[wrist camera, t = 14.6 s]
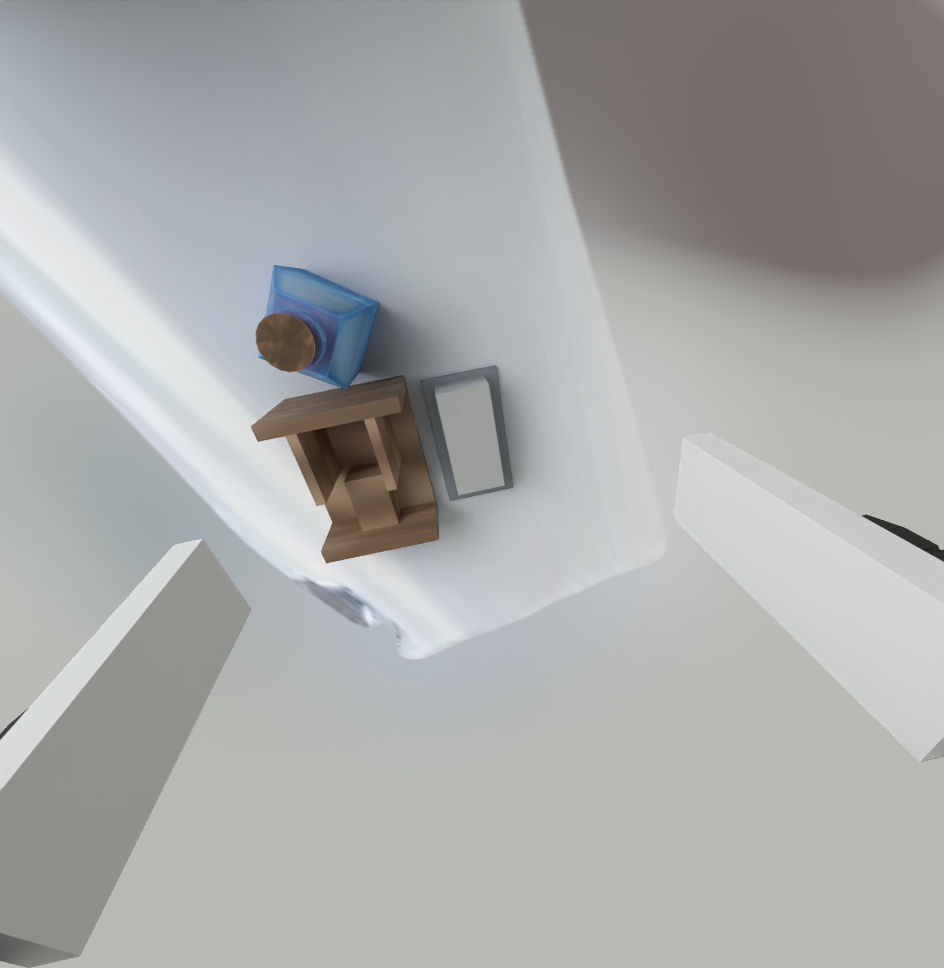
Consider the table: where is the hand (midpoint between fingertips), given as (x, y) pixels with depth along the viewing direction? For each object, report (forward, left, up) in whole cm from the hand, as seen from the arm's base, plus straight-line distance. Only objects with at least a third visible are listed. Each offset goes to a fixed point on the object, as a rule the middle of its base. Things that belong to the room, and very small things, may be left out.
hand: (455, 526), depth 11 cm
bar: (+7, +2, -26) cm, 27 cm away
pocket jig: (+9, -9, -27) cm, 29 cm away
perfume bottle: (-5, -8, -27) cm, 28 cm away
